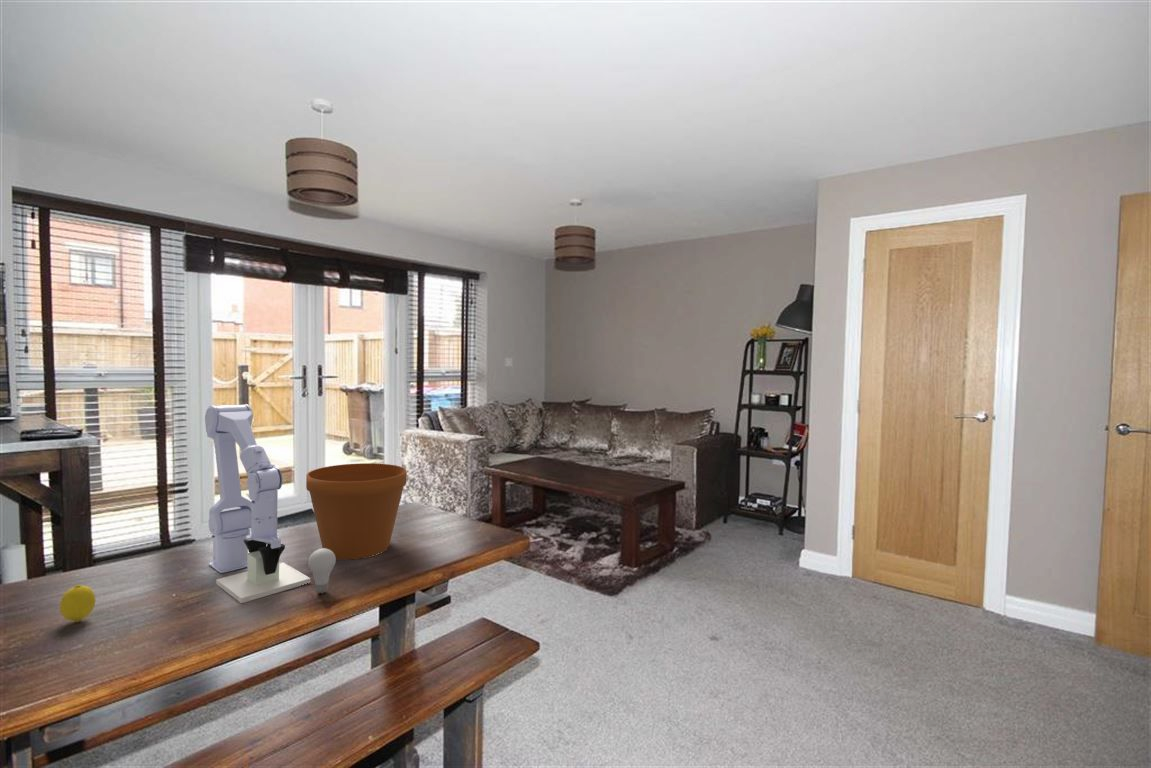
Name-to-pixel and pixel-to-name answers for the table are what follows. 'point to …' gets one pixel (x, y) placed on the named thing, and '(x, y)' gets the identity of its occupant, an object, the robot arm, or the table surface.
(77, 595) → the lemon
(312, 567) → the lightbulb
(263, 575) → the pale green block
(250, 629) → the table surface
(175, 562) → the table surface
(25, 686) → the table surface
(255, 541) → the robot arm
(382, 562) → the table surface
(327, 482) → the flowerpot
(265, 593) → the post board
